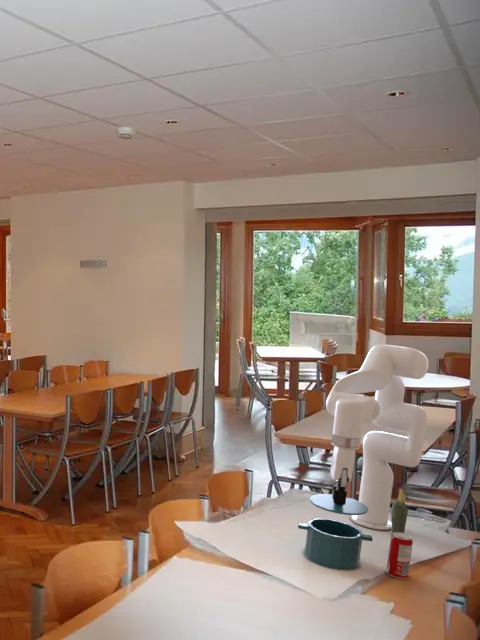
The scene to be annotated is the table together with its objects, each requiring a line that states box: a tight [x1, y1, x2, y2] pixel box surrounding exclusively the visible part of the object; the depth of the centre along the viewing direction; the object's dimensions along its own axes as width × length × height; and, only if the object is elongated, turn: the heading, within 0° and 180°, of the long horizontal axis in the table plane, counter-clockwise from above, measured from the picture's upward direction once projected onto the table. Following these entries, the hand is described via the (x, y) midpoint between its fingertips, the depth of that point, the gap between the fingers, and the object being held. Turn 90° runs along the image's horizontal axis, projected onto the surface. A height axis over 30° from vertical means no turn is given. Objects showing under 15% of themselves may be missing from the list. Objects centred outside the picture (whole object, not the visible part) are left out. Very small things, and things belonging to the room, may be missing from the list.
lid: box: [309, 493, 368, 516], centre depth 219 cm, size 16×16×7 cm
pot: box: [297, 518, 374, 571], centre depth 220 cm, size 15×20×10 cm
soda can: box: [385, 532, 414, 580], centre depth 211 cm, size 6×6×12 cm
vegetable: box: [390, 488, 409, 537], centre depth 227 cm, size 4×4×20 cm
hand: (338, 501), depth 219 cm, fingers closed on lid, 2 cm apart
